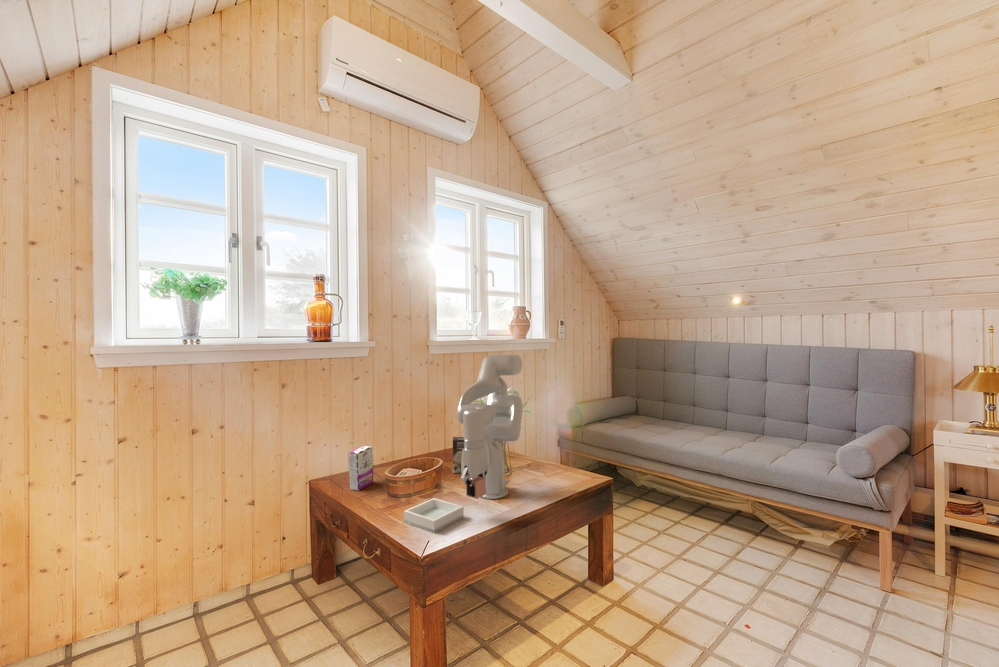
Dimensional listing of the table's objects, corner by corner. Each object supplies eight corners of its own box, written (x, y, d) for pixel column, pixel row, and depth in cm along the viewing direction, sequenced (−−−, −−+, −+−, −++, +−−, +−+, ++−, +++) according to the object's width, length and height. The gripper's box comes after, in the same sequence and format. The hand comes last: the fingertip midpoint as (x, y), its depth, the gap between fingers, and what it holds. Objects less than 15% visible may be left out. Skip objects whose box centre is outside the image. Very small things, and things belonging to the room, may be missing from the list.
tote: (434, 508, 171) (433, 497, 171) (463, 517, 162) (463, 506, 162) (404, 522, 159) (403, 511, 159) (434, 533, 150) (433, 521, 150)
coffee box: (452, 474, 212) (451, 440, 212) (453, 469, 218) (452, 437, 218) (471, 473, 212) (471, 439, 212) (472, 469, 219) (471, 436, 218)
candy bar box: (364, 481, 204) (363, 445, 204) (373, 482, 202) (372, 446, 202) (348, 490, 193) (347, 452, 193) (358, 491, 191) (357, 452, 191)
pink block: (475, 491, 165) (474, 475, 165) (485, 494, 162) (485, 477, 162) (466, 495, 161) (465, 479, 161) (477, 498, 158) (476, 482, 158)
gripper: (481, 436, 170) (482, 483, 171) (450, 447, 156) (452, 499, 157) (497, 439, 165) (498, 487, 166) (466, 451, 152) (468, 504, 153)
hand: (476, 492), depth 162 cm, fingers closed on pink block, 5 cm apart
